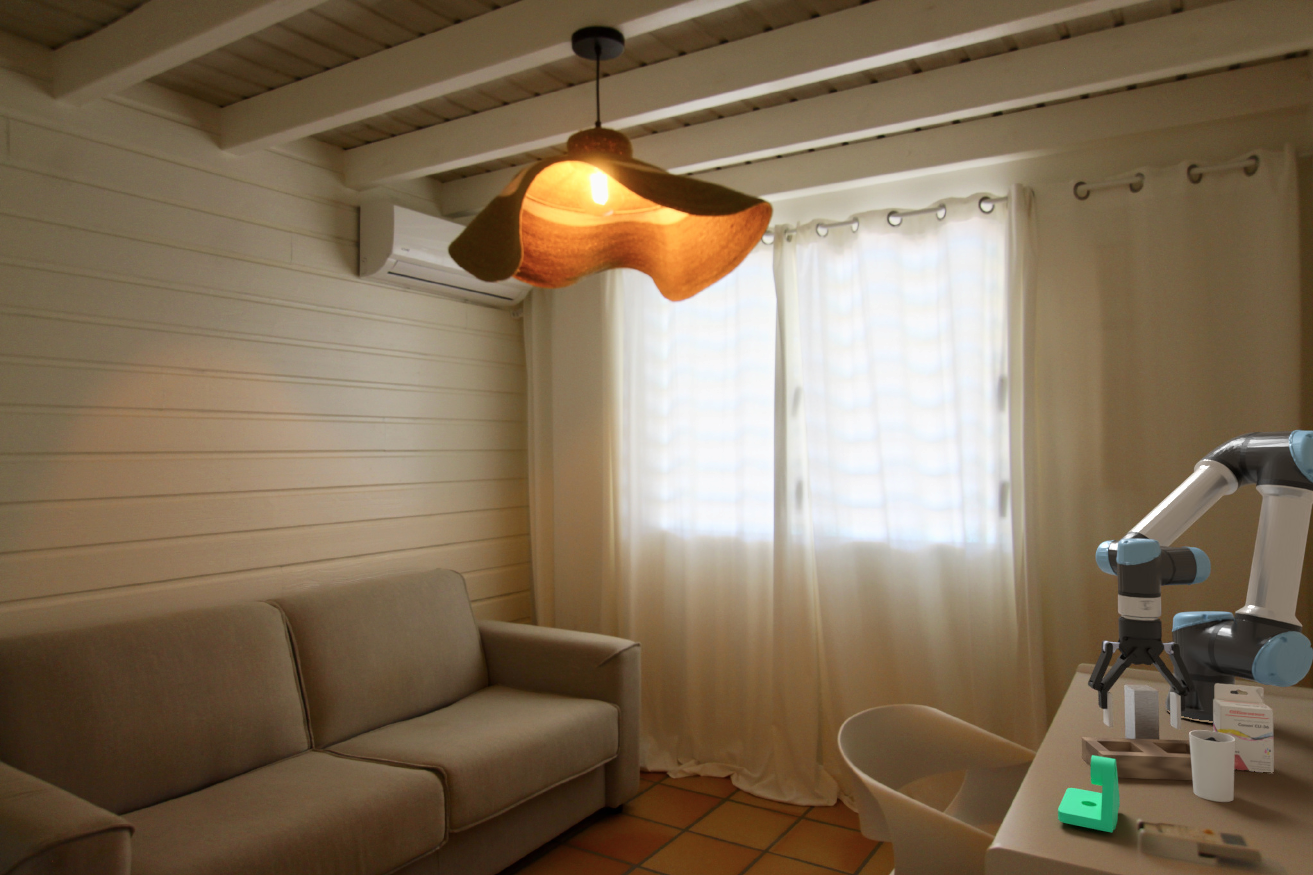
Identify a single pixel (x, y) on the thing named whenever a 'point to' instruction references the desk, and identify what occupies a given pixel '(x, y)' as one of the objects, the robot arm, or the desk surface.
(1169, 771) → the brown holed block
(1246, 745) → the ink cartridge box
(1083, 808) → the camera mount
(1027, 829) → the desk surface
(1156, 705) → the steel peg
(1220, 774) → the white cup
